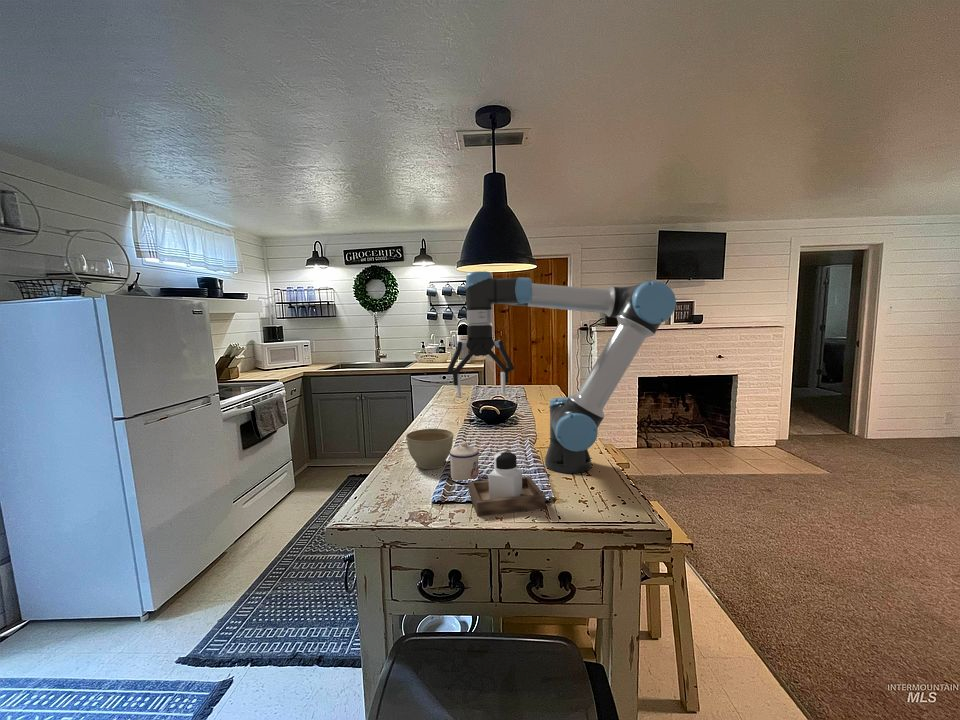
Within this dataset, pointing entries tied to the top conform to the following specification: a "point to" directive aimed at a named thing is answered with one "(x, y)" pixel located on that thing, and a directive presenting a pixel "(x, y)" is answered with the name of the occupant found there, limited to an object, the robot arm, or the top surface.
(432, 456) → the planter bowl
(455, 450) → the teacup with lid
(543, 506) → the holder tray
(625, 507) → the top surface
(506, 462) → the medicine bottle
